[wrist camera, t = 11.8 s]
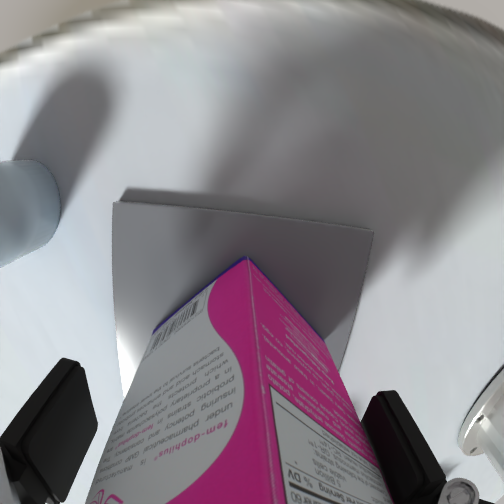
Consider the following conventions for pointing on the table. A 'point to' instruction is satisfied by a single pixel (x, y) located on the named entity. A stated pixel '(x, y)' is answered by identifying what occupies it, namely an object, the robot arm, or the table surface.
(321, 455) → the supplement box
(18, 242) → the pale blue dome knob
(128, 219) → the coaster
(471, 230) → the table surface
